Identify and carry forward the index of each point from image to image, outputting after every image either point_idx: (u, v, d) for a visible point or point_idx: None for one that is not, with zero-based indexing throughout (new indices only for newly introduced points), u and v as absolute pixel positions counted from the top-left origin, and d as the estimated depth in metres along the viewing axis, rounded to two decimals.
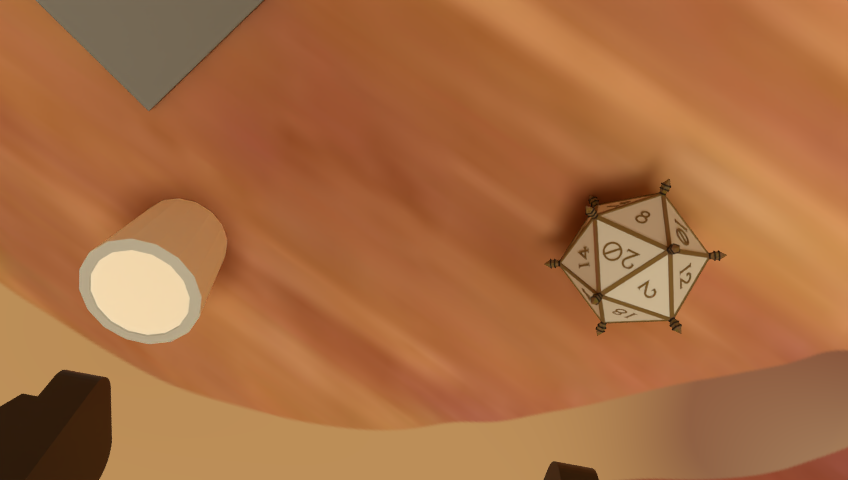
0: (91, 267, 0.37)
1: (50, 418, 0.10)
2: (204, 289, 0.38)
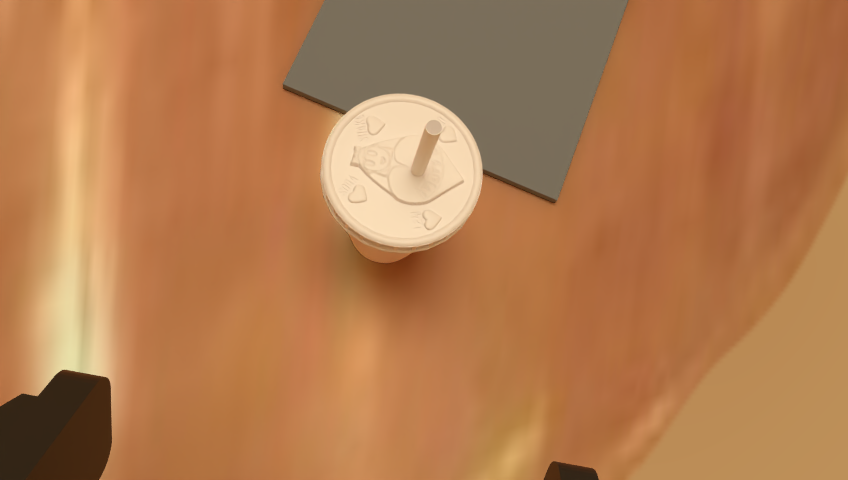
0: None
1: (50, 418, 0.10)
2: None
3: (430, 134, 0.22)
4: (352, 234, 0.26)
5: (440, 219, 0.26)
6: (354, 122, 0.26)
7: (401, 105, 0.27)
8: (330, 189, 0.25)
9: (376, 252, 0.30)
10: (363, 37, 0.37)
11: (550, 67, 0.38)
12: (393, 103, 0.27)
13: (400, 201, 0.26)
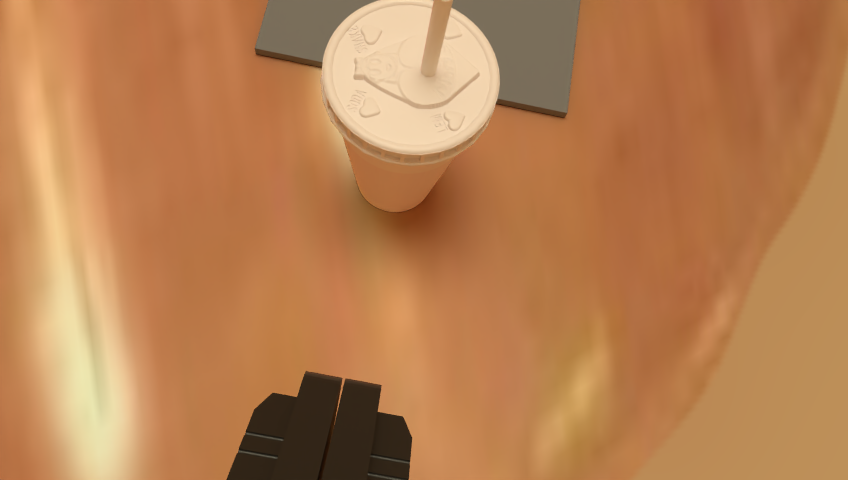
0: None
1: (316, 414, 0.11)
2: None
3: (442, 2, 0.20)
4: (371, 154, 0.23)
5: (464, 118, 0.23)
6: (348, 35, 0.24)
7: (395, 9, 0.24)
8: (338, 107, 0.23)
9: (395, 187, 0.28)
10: None
11: None
12: (386, 8, 0.24)
13: (417, 106, 0.23)
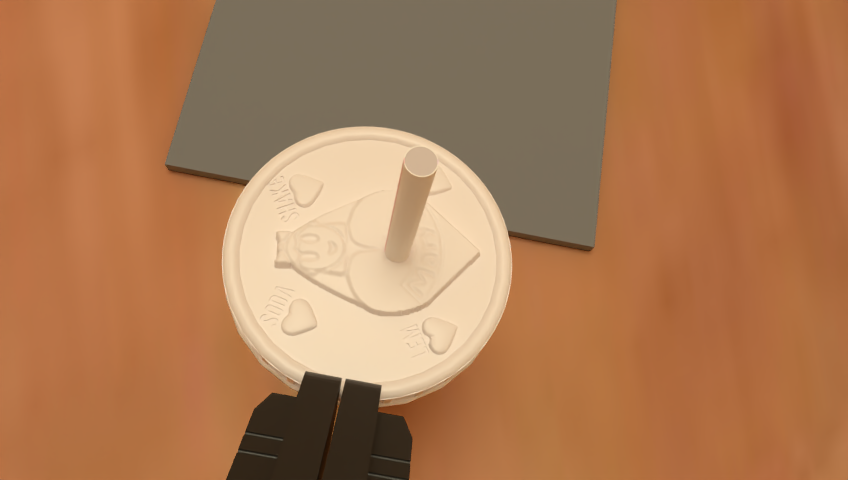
0: None
1: (316, 414, 0.11)
2: None
3: (416, 176, 0.11)
4: None
5: (456, 331, 0.14)
6: (269, 191, 0.15)
7: (345, 147, 0.15)
8: (247, 319, 0.14)
9: None
10: (271, 73, 0.26)
11: (539, 64, 0.27)
12: (330, 146, 0.15)
13: (378, 313, 0.14)
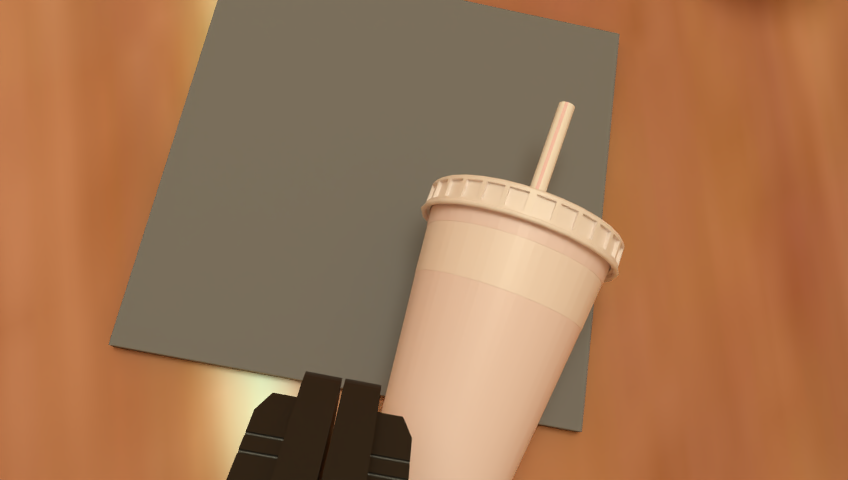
0: None
1: (316, 414, 0.11)
2: None
3: (572, 109, 0.23)
4: (611, 257, 0.19)
5: None
6: None
7: None
8: (573, 208, 0.18)
9: (549, 397, 0.19)
10: (229, 234, 0.24)
11: None
12: None
13: None
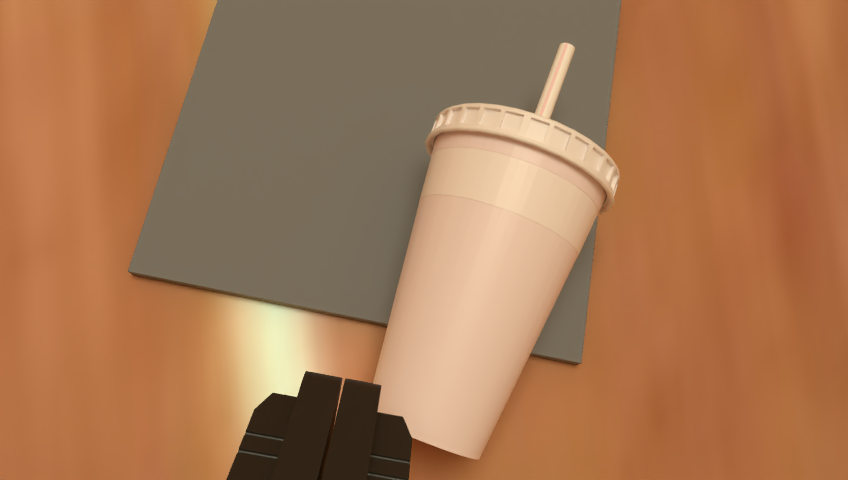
0: None
1: (316, 415, 0.11)
2: None
3: (572, 50, 0.23)
4: (604, 181, 0.20)
5: None
6: None
7: None
8: (566, 130, 0.19)
9: (546, 316, 0.20)
10: (244, 171, 0.24)
11: None
12: None
13: None
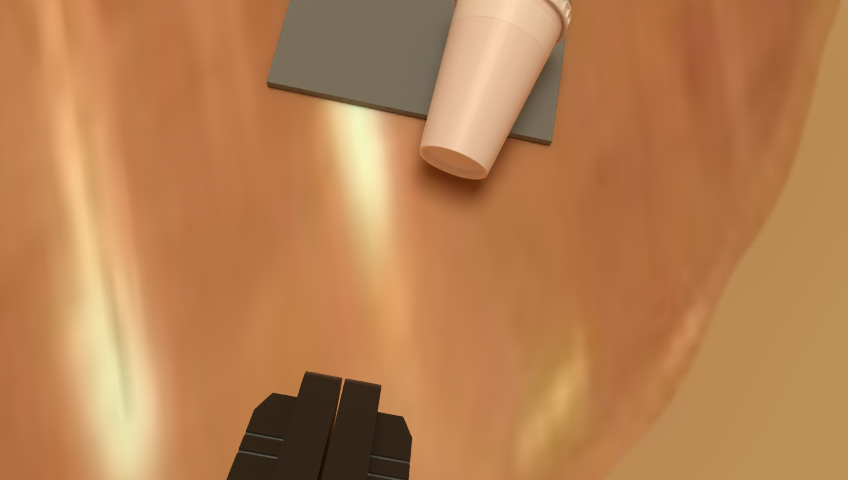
0: None
1: (316, 415, 0.11)
2: None
3: None
4: (560, 7, 0.34)
5: None
6: None
7: None
8: None
9: (526, 90, 0.34)
10: (335, 24, 0.38)
11: None
12: None
13: None
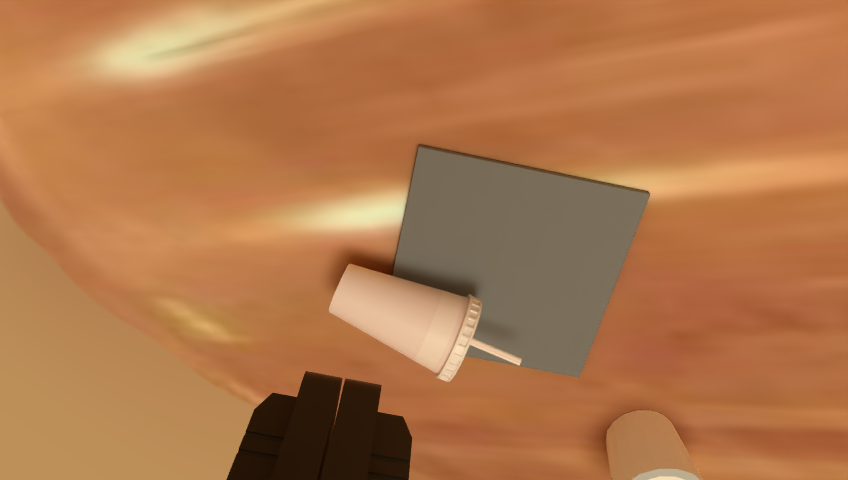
0: None
1: (316, 414, 0.11)
2: (700, 475, 0.49)
3: (517, 364, 0.48)
4: None
5: None
6: None
7: None
8: (455, 370, 0.45)
9: None
10: (473, 198, 0.46)
11: (479, 326, 0.51)
12: None
13: None
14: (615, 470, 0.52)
